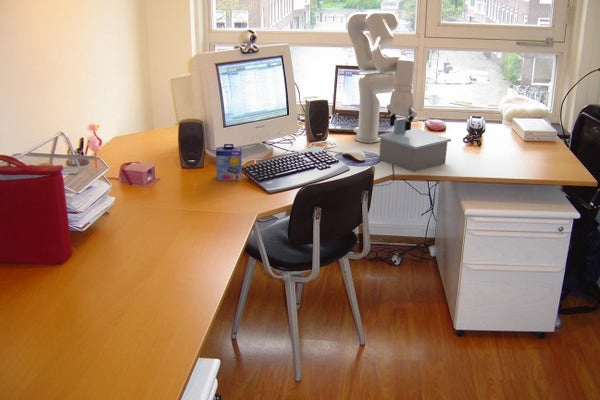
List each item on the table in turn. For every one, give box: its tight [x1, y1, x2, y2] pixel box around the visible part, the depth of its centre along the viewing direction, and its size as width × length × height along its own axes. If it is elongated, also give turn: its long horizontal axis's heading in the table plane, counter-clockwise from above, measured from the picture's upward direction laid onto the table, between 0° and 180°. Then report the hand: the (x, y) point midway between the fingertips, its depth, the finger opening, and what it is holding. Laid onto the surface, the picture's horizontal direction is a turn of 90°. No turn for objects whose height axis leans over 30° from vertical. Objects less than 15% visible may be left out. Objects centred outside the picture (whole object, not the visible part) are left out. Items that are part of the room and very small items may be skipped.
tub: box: [378, 138, 448, 173], centre depth 286 cm, size 20×20×10 cm
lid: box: [378, 117, 452, 149], centre depth 284 cm, size 22×22×8 cm
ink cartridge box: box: [215, 143, 242, 181], centre depth 259 cm, size 10×6×14 cm, turn 95°
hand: (400, 127), depth 290 cm, fingers open, 8 cm apart
